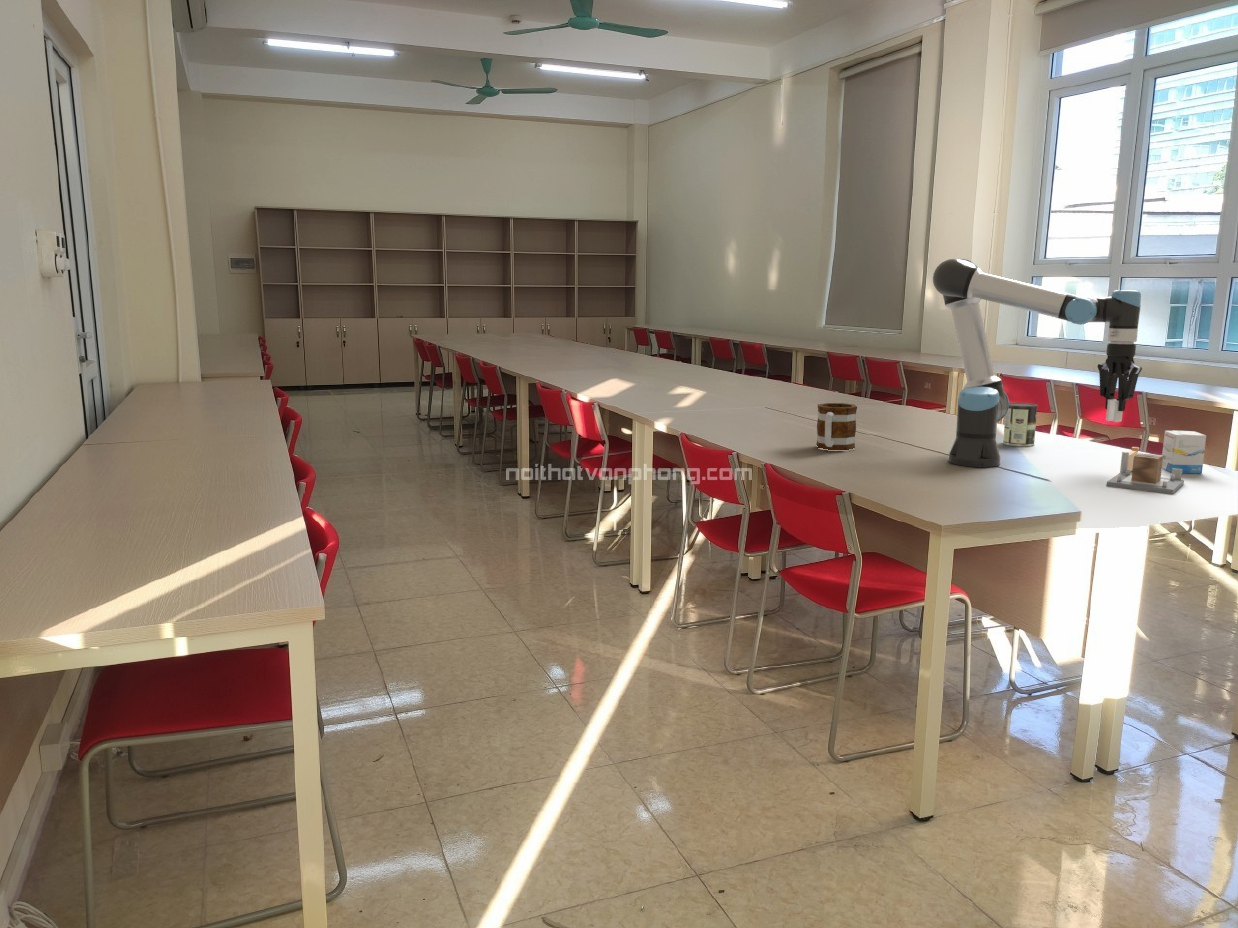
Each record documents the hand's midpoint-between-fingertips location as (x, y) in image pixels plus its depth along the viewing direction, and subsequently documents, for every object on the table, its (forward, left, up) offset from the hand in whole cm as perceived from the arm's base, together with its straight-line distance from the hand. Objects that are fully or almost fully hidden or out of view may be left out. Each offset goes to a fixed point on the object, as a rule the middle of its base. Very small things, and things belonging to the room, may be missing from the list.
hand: (1113, 421), depth 270 cm
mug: (-79, -25, -15) cm, 85 cm away
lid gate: (+6, -2, -14) cm, 16 cm away
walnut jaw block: (+14, -20, -13) cm, 27 cm away
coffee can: (-34, +26, -15) cm, 46 cm away
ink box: (+18, +9, -15) cm, 25 cm away
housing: (+13, -19, -14) cm, 27 cm away
